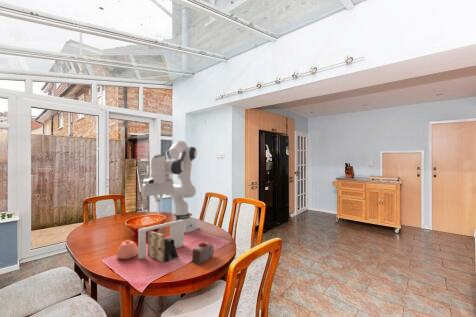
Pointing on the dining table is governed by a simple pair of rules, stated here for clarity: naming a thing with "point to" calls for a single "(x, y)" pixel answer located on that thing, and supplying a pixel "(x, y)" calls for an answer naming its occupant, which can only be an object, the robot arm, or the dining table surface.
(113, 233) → the dining table surface
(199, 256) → the dark grey block
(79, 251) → the dining table surface
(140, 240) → the wall frame
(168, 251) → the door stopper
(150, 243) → the door
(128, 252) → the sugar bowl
